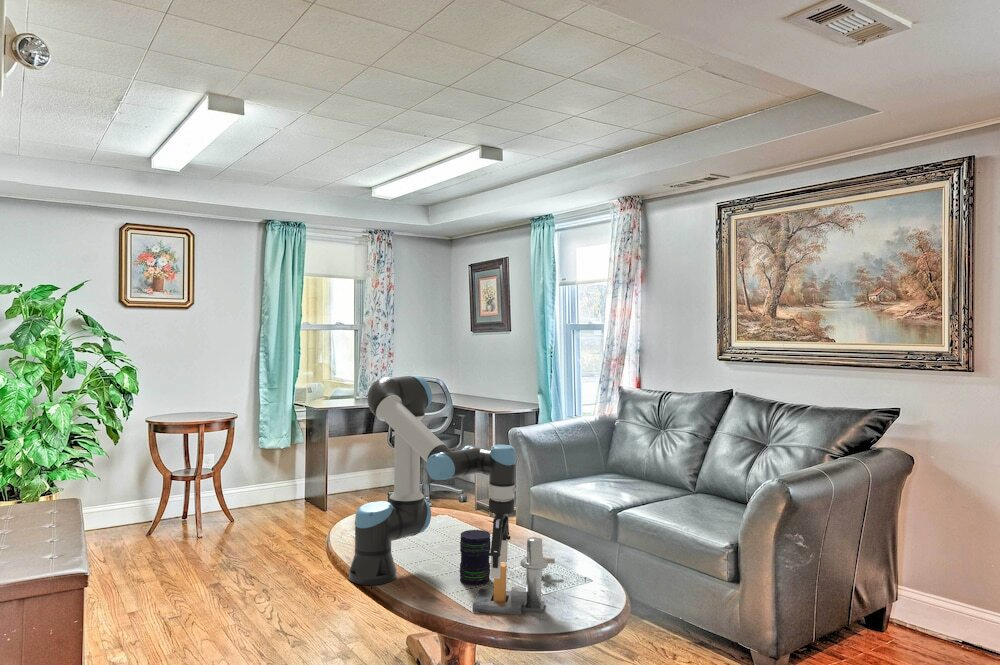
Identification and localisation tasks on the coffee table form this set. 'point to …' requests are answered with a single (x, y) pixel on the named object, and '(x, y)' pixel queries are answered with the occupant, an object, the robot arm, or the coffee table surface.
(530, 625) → the coffee table surface
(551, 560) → the pipe connector
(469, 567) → the storage jar
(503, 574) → the tan rectangular block
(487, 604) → the rosette node
